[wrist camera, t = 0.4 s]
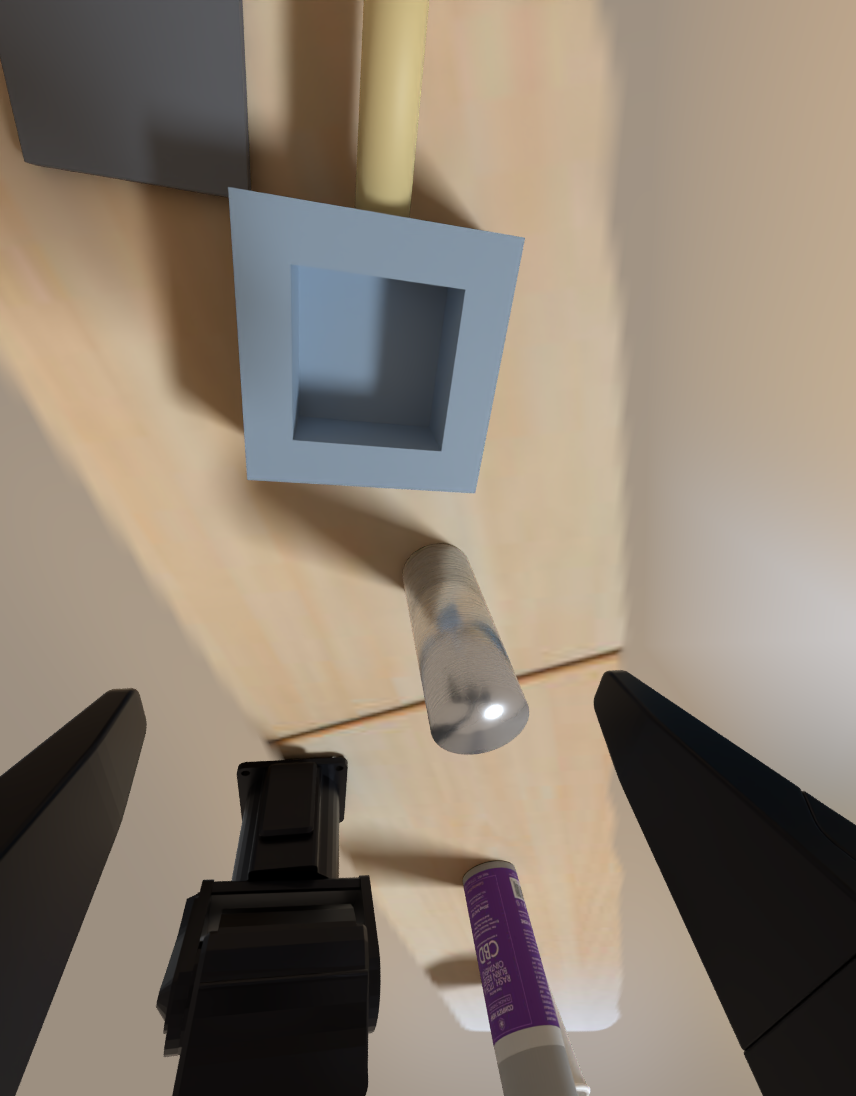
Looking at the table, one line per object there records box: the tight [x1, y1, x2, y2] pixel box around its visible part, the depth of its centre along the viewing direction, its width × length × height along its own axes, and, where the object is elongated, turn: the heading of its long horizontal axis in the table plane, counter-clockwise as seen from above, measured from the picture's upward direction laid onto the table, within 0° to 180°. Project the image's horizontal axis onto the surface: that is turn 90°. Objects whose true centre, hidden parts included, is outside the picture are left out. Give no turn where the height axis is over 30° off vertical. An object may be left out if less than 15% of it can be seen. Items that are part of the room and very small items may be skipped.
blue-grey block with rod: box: [228, 0, 525, 493], centre depth 14 cm, size 16×8×4 cm, turn 173°
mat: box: [0, 0, 251, 198], centre depth 13 cm, size 6×6×1 cm
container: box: [463, 861, 578, 1096], centre depth 35 cm, size 5×5×15 cm
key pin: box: [403, 544, 529, 754], centre depth 20 cm, size 3×3×9 cm
